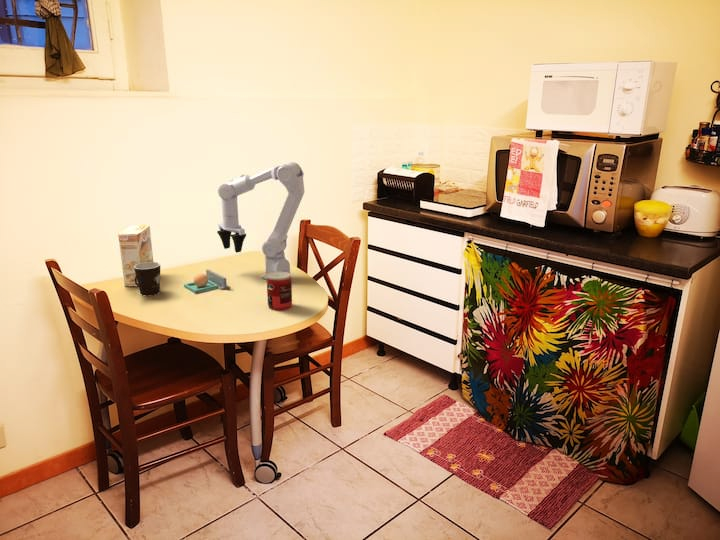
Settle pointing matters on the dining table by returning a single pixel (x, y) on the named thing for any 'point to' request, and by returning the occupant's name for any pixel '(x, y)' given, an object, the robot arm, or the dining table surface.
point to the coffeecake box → (134, 250)
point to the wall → (217, 279)
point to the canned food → (279, 290)
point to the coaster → (196, 289)
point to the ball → (200, 280)
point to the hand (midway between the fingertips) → (232, 250)
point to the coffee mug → (148, 277)
